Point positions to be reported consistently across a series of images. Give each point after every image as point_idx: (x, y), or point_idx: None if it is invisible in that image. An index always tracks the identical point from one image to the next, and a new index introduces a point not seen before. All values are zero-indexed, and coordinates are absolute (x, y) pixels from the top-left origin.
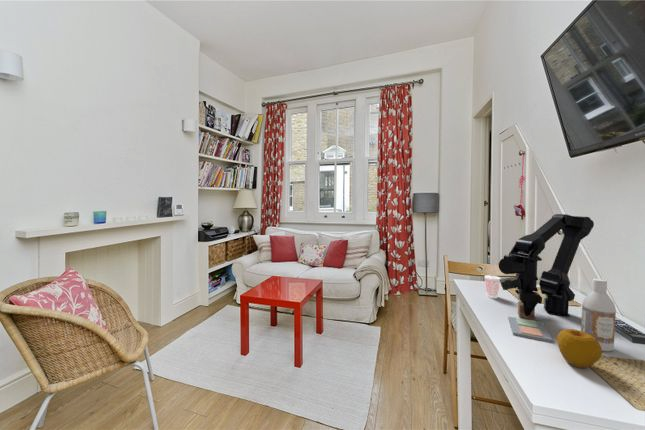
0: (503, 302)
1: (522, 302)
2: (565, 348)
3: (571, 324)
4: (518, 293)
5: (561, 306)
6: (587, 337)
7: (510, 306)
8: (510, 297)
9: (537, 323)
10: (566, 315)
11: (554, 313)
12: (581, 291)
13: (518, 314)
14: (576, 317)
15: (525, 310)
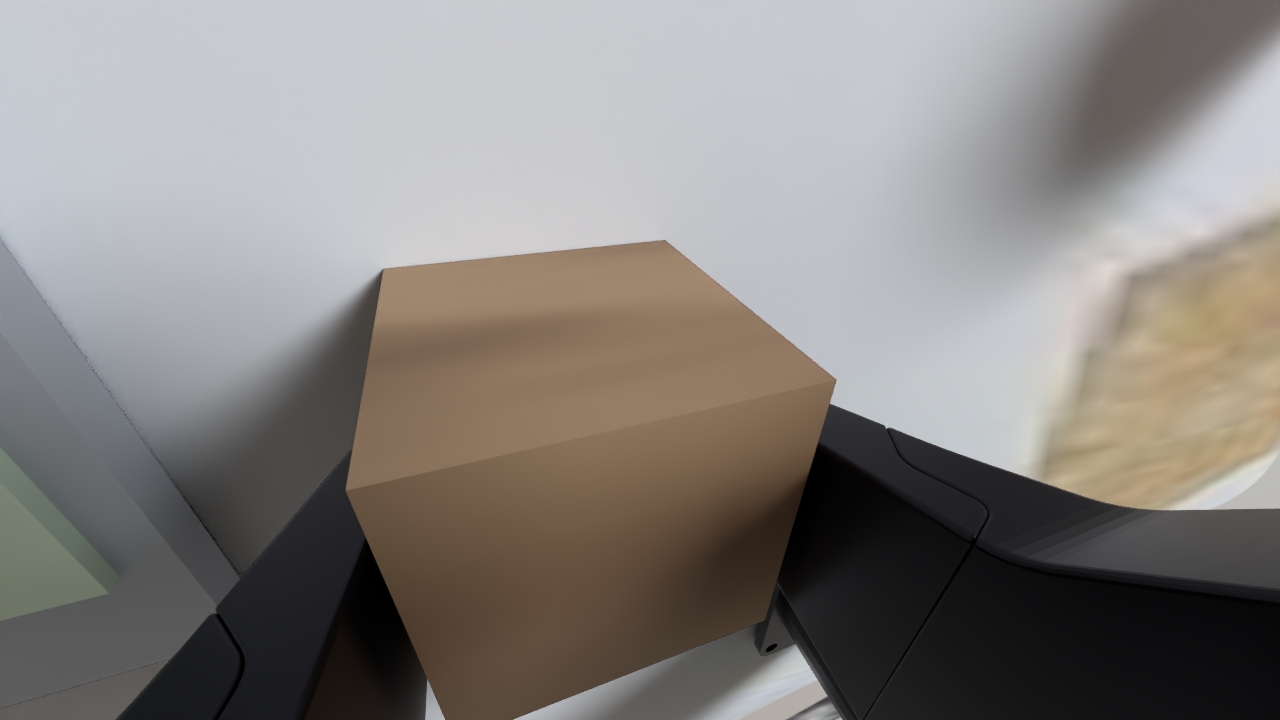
0: (1155, 8)
1: (773, 484)
2: None
3: None
4: (1243, 653)
5: (834, 706)
6: None
7: (971, 127)
8: (1271, 163)
9: (36, 618)
10: (760, 642)
11: (777, 588)
12: None
13: (530, 259)
14: (765, 659)
15: (296, 537)
